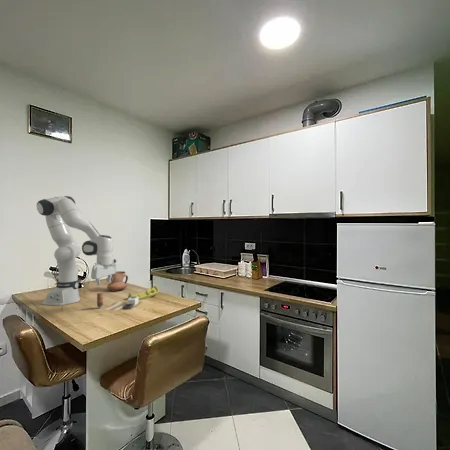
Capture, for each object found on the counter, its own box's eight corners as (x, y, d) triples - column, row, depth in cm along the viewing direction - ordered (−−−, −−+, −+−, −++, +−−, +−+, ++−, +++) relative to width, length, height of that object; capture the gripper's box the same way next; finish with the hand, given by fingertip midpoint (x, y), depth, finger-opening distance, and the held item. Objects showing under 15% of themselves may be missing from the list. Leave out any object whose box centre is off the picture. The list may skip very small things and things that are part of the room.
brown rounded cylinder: (96, 310, 150) (96, 294, 150) (98, 309, 154) (98, 293, 154) (101, 310, 150) (101, 294, 150) (103, 309, 154) (103, 293, 154)
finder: (135, 304, 158) (135, 298, 158) (127, 304, 158) (127, 298, 158) (138, 302, 164) (138, 296, 164) (131, 302, 164) (131, 296, 164)
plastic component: (134, 299, 165) (128, 290, 171) (133, 308, 168) (127, 299, 174) (161, 292, 179) (154, 284, 185) (159, 300, 181) (153, 291, 188)
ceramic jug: (110, 293, 189) (111, 275, 189) (102, 290, 198) (102, 272, 198) (132, 289, 202) (132, 272, 203) (123, 286, 212) (123, 269, 212)
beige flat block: (104, 311, 149) (103, 307, 149) (116, 303, 165) (116, 299, 165) (133, 311, 149) (133, 307, 149) (142, 303, 165) (142, 299, 165)
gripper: (98, 263, 143) (97, 287, 143) (118, 259, 163) (117, 280, 163) (88, 263, 144) (87, 287, 144) (109, 259, 164) (108, 279, 164)
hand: (103, 283), depth 154 cm, fingers open, 8 cm apart
